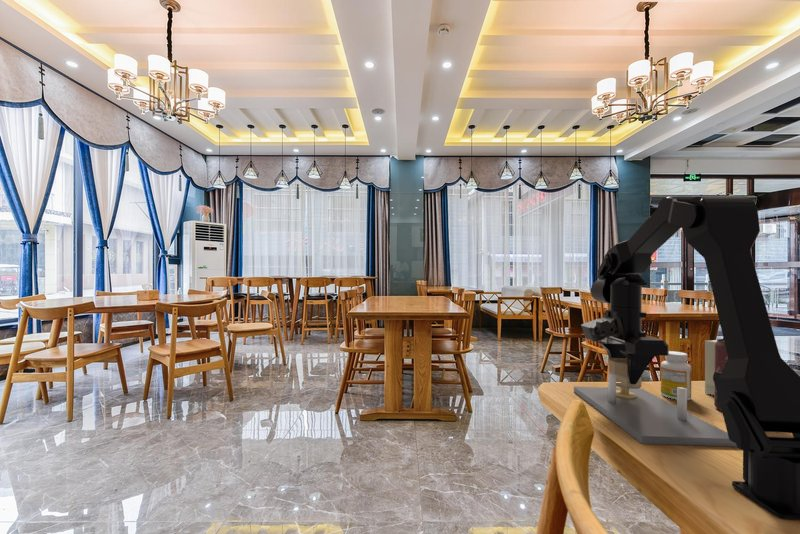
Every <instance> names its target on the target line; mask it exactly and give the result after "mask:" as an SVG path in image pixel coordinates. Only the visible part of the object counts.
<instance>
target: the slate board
mask: <svg viewBox="0 0 800 534" xmlns="http://www.w3.org/2000/svg"><path fill="white" fill-rule="evenodd" d="M607 377H608V378H607V384H608V385H607V387H605V386H604V387H598V386H573V392H574V393H575V394H576V395H577V396H579V398H581V399H583V401H585V402H586V403H588V404H589V405H590V406H592V407H593V408H594V409H595V410H597V411H598V412H599V413H600V414H602V415H604V416H605V417H606V418H607V419H609V420H610V421H611V422H613V423H614V424H615V425H617V426H618V427H620V428H621V429H622V430H624V431H625V432H626V433H628V435H630V436H631V437H632V438H634V439H635V440H637V441H638V442H640V444H644V445H645V444H646V445H647V444H648V445H649V444H651V445H678V446H679V445H680V446H681V445H682V446H683V445H684V446H707V447H713V446H714V447H736V448H737V445H736V443H734V442H732V441H730V439H729V437H728V433H727V431H725V430H723V429H721V428H719V427H717V426H715V425H713V424H711V423H709V422H707V421H705V420H703V419H702V418H700V417H697V416H696V415H694V414H692V413H690V412H688V401H687V389H686V388H683V387H677V400H676V405H674V404H673V403H671V402H669V401H667V400H664V399H663V398H661V397H659V396H657V395H655V394H653V393H651V392H649V391H648V390H645V389H644V388H642V387H640V388H639V389H626V388H622V387H617V386H616V374H609V373H608V374H607Z"/></svg>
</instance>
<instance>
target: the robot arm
mask: <svg viewBox="0 0 800 534" xmlns="http://www.w3.org/2000/svg"><path fill="white" fill-rule="evenodd" d="M759 219H760V218H759V211H758V207H757V205H756V203H755V201H754V200H753V198H748V197H746V196H693V195H691V196H689V195H688V196H687V195H684V196H682V195H680V196H679V195H675V196H674V195H670V196H667V197H663V198H661V200H660V201H659V202H658V205H657V208H656V210H655V211H654V212H653V213H652V214H651V215H650V216H649V217H648V218H647V219H646V220H645V221H644V223H643V224H641V226H640V227H639V228H638V229H637V230H636V231H635V232H634V233H633V235H631V236H630V237H629V238H628V239H626V240H624V241H622V242H617V243H616V244H614V245H613V246H612V247H611V248H609V249H608V250H607V252H606V253H605V255H604V257H603V259H602V262H601V264H600V265H599V267H598V269H597V280H595V281H594V282H593V283H592V285H591V287H590V294H591V297H592V298H593V299H594V300H595V301H596V302H597V303H598V302H599V303H604V304H609V309H606V310H605V311H604V317H600V318H595V319H592V320H590V321H587V322H584V323H582V324H580V326H581V329H582V331H583V334H584V337H585V339H586V340H590V341H591V342H594V343H595V342H596V343H598V344H599V345H600V346H601V347H602V348H603V349H604V350H605V351H606V353H607V356H608V358H609V359H611V358H625V359H627V366H628V375H629V381H630V384H637V382H638V380H639V379H640V377H641V375H642V376H643V374H644V372H645V371H646V369H647V368H648V366H649V365H650V363H651V362H652V361H653V359H654V358H655V357H659V356H664V357H665V356H668V355H669V351H670V350H669V347H670V346H669V344H668V343H667V342H666V341H665V340H663V339H660V338H656V337H653V336H651V337H650V336H649V337H647V332H645V331H642V318H644V319H645V318H647V312H643V311H642V303H643V302H642V300H643V299H642V294H643V293H642V287H647V286H648V283H647V281H646V280H645V279H644V278H642V277H641V276H642V275H644V273H645V272H646V271H647V270H648V268H650V267H651V265H652V263H653V260H652V256H653V255H654V253H655V252H656V251H658V250H659V248H661V247H662V246H663V245H664V244H665V243H666V242H668V241H669V240H670V239H671V238H672V237H673V236H674V235H675V234H676V233H678V231H680V230H681V229H682V232H683V235H684V237H685V241H686V242H687V244H689V245H690V247H692V248H693V249H694V250H695V251H696V252H697V253H699V255H700V256H701V257H703V259H704V261H705V265H706V269H707V275H708V278H709V282H710V283H709V284H710V287H711V291H712V295H713V300H714V304H715V308H716V313H717V317H718V321H719V324H720V329H721V334H722V337H723V338H722V339H724V342H725V346H726V351H727V355H728V360H727V362H726V364H725V366H724V368H723V370H722V372H714V375H713V381H714V384H715V386H716V390H717V403H718V404H720V405H721V409H722V411H721V413H722V417H723V420H724V424H725V428H726V432H727V433H728V437H729V439H730V441H732V442H734V443H736V445H737V447H736V448H738V449H740V450H742V480H744V481H737V480H734V481H731V486H732V487H733V488H734V489H736V490H738V491H739V492H741V493H742V494H743V495H745V496H747V497H748V498H750V499H751V500H753V501H754V502H756V503H757V504H759V505H760V506H762V507H763V508H765V509H766V510H767V511H768V512H771V513H772V514H773V515H775V516H776V517H779V518H782V519H789V520H790V519H792V520H795V519H796V520H800V375H799V374H798V373H797V372H796V371H795V370H794V369H793V368H792V367H791V366H790V365H789V364H788V363H787V362H786V361H785V360H784V359H783V358H782V357H781V355H780V352H779V351H780V350H779V348H778V343H777V341H776V337H775V334H774V329H773V327H772V323H771V319H770V316H769V312H768V308H767V305H766V301H765V298H764V295H763V291H762V287H761V284H760V280H759V276H758V273H757V270H756V266H755V262H754V259H753V256H752V255H753V254H752V251H751V250H752V248H753V246H754V244H755V242H756V240H757V239H758V237H759V234H760V232H761V228H760V220H759ZM609 359H608V360H609ZM767 433H777V434H792V437H791V436H788V437H787V436H769V435H768V434H767Z"/></svg>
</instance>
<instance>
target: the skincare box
mask: <svg viewBox="0 0 800 534" xmlns="http://www.w3.org/2000/svg"><path fill="white" fill-rule="evenodd" d="M716 342H717V339H713V340H712V339H711V340H710V339H708V340H706V339H705V340H704V393H705V394H707V395H710V394H711V396H713V395H714V388H715V384H714V381H713V375H714V372H715V343H716Z"/></svg>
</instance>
